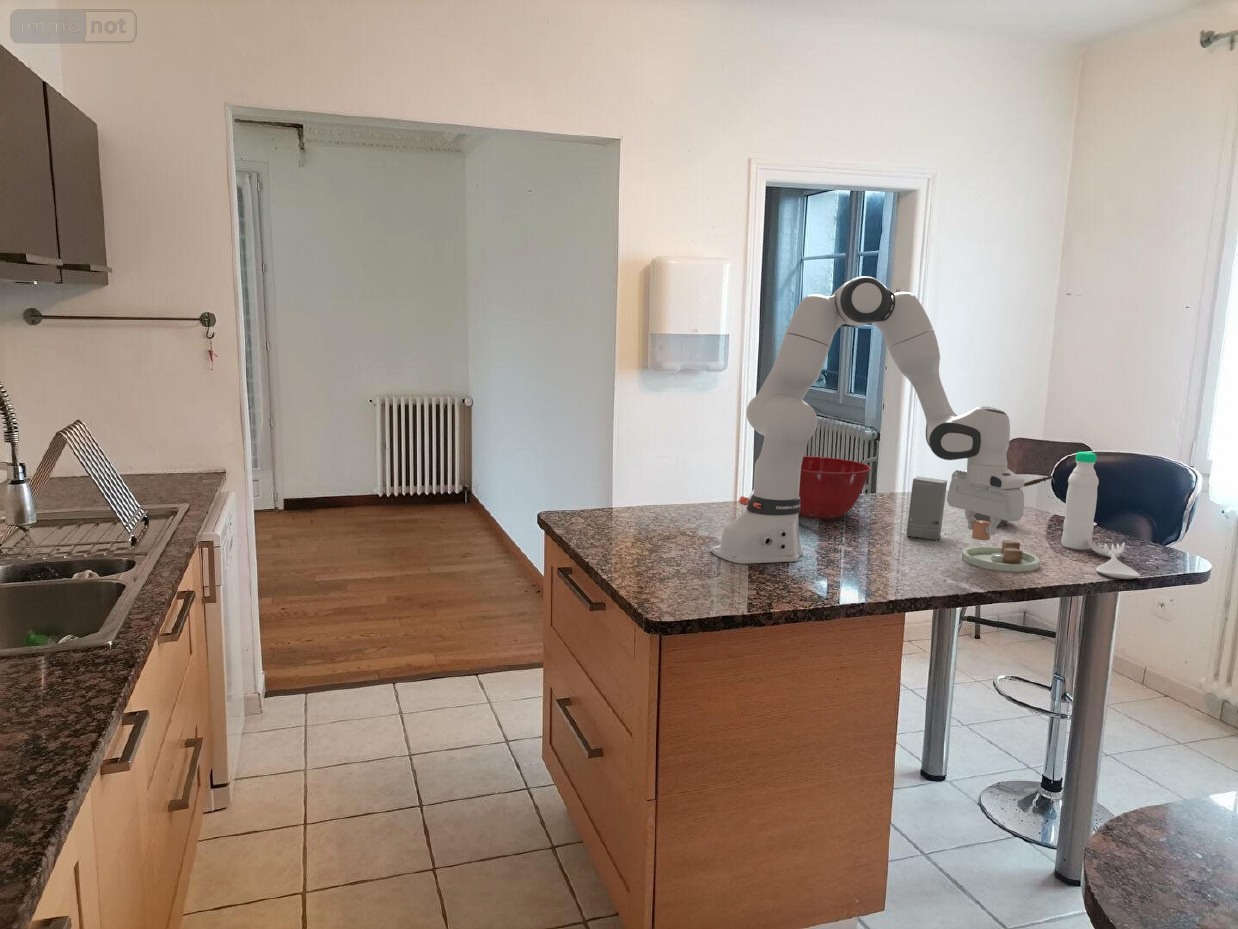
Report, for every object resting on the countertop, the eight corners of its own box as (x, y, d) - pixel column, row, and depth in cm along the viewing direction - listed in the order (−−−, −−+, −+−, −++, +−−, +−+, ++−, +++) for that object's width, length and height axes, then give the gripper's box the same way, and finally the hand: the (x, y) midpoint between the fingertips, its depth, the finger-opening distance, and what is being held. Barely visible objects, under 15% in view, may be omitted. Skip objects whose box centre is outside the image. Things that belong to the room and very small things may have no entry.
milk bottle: (1087, 545, 239) (1098, 451, 235) (1094, 551, 232) (1105, 455, 228) (1058, 542, 241) (1068, 449, 236) (1063, 549, 234) (1074, 453, 230)
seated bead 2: (1012, 570, 209) (1014, 553, 209) (998, 565, 213) (1000, 549, 212) (1024, 568, 211) (1026, 551, 210) (1010, 563, 215) (1012, 547, 214)
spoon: (1124, 554, 230) (1125, 541, 230) (1143, 587, 201) (1145, 572, 200) (1084, 549, 234) (1086, 536, 233) (1097, 582, 204) (1099, 567, 204)
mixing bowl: (861, 507, 280) (864, 457, 278) (873, 528, 252) (877, 473, 250) (768, 502, 284) (771, 453, 281) (770, 522, 256) (773, 468, 254)
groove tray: (1001, 578, 206) (1002, 568, 205) (946, 559, 221) (946, 549, 220) (1054, 571, 213) (1055, 561, 212) (997, 553, 228) (997, 543, 227)
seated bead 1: (1010, 561, 217) (1011, 545, 216) (997, 557, 220) (998, 541, 220) (1022, 559, 219) (1023, 543, 218) (1008, 555, 222) (1010, 539, 221)
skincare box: (905, 536, 243) (910, 478, 240) (910, 531, 249) (915, 475, 247) (938, 541, 239) (943, 482, 237) (942, 535, 245) (947, 478, 243)
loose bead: (981, 541, 215) (982, 524, 214) (968, 537, 218) (969, 520, 218) (993, 539, 217) (995, 523, 216) (980, 535, 220) (981, 519, 219)
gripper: (943, 468, 223) (939, 523, 225) (1010, 483, 205) (1005, 542, 207) (962, 467, 225) (958, 521, 228) (1030, 481, 207) (1025, 540, 210)
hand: (981, 531), depth 217 cm, fingers closed on loose bead, 4 cm apart
